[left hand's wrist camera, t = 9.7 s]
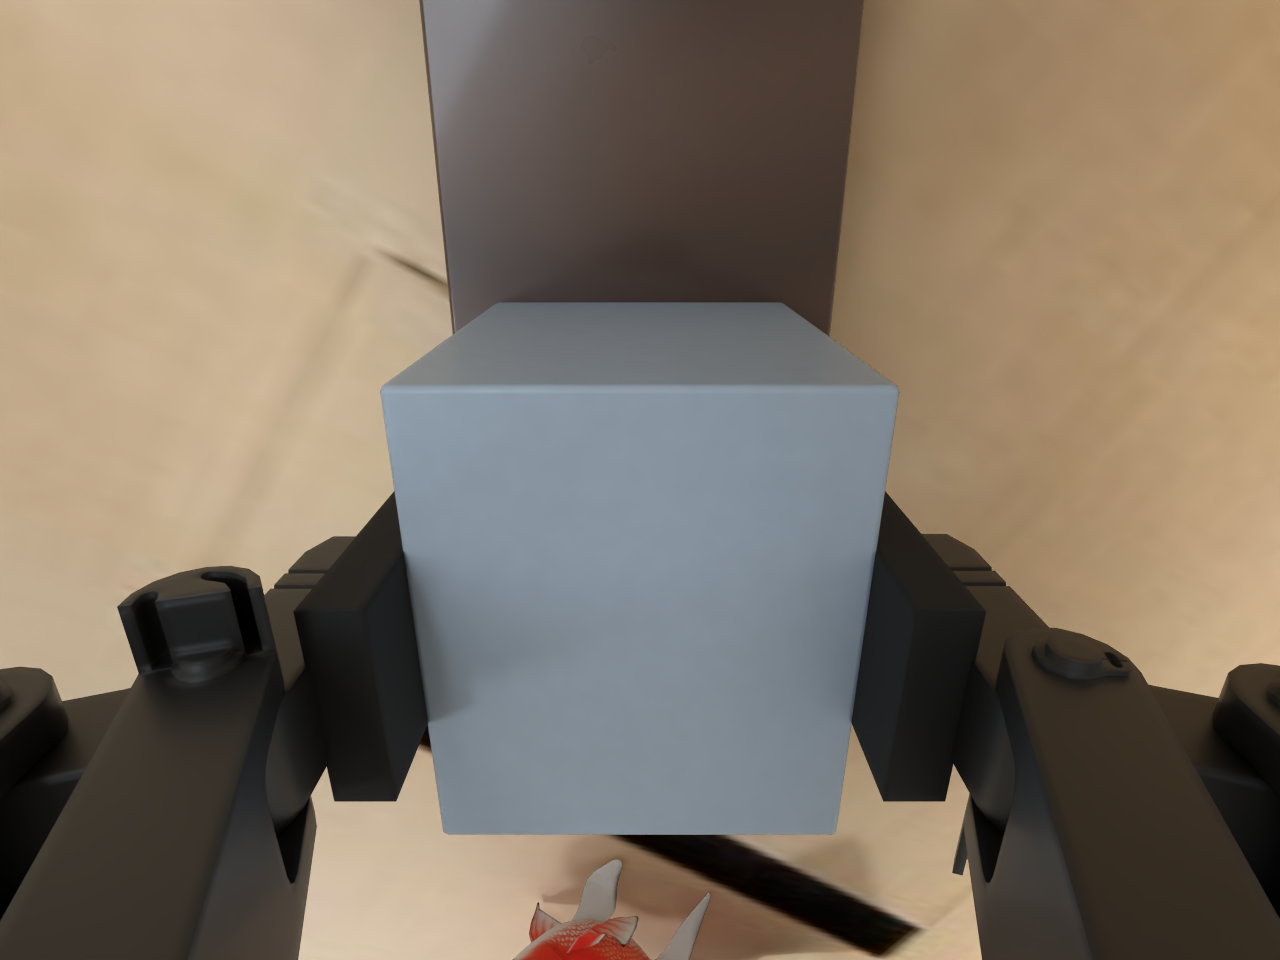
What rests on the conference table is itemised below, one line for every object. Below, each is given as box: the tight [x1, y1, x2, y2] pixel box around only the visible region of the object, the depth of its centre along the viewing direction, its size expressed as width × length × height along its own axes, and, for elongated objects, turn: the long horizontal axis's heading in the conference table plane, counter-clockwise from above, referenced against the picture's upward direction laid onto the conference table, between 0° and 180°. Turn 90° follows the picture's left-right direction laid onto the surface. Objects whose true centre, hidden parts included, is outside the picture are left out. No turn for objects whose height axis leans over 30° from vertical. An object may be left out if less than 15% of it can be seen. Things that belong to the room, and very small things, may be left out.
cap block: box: [380, 302, 899, 835], centre depth 12 cm, size 7×6×7 cm
